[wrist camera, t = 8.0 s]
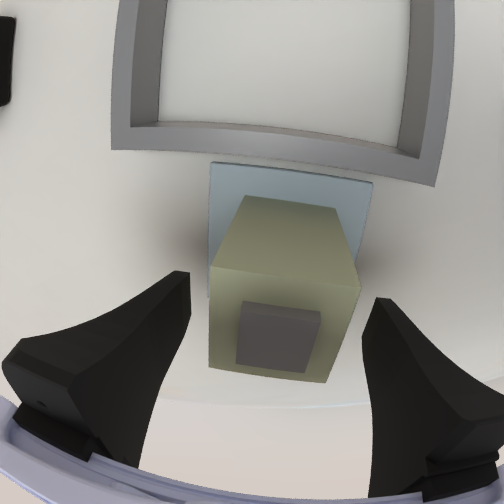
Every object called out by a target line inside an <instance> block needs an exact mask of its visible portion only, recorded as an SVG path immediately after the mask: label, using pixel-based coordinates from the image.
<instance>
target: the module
mask: <svg viewBox="0 0 504 504" xmlns="http://www.w3.org/2000/svg"><path fill="white" fill-rule="evenodd" d="M361 288H362V287H361V284H360V281H359V277H358V274H357V271H356V268H355V265H354V262H353V258H352V255H351V252H350V249H349V246H348V243H347V240H346V237H345V235H344V232H343V229H342V226H341V223H340V220H339V217H338V215H337V212H336V209H335V208H331V207H325V206H319V205H312V204H306V203H299V202H293V201H286V200H279V199H272V198H264V197H257V196H249V195H245V196H244V198H243V200H242V202H241V204H240V206H239V208H238V210H237V212H236V214H235V216H234V218H233V220H232V222H231V224H230V226H229V228H228V231H227V233H226V235H225V237H224V239H223V241H222V243H221V245H220V247H219V249H218V251H217V254H216V256H215V258H214V260H213V262H212V264H211V266H210V299H209V367H211V368H216V369H221V370H227V371H233V372H239V373H245V374H251V375H258V376H265V377H272V378H280V379H288V380H297V381H306V382H317V383H326V381H327V379H328V376H329V374H330V371H331V369H332V367H333V364H334V362H335V359H336V357H337V354H338V352H339V349H340V347H341V344H342V342H343V339H344V336H345V334H346V331H347V328H348V326H349V323H350V320H351V317H352V315H353V312H354V309H355V306H356V303H357V300H358V297H359V294H360V291H361Z"/></svg>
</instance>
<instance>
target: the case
mask: <svg viewBox="0 0 504 504" xmlns="http://www.w3.org/2000/svg"><path fill="white" fill-rule="evenodd" d="M166 6H167V0H120V2H119V9H118V16H117V24H116V33H115V43H114V54H113V68H112V88H111V150H158V151H183V152H201V153H216V154H229V155H241V156H251V157H261V158H270V159H279V160H287V161H295V162H302V163H310V164H317V165H323V166H330V167H336V168H342V169H348V170H354V171H360V172H365V173H371V174H376V175H381V176H386V177H391V178H396V179H401V180H405V181H410V182H414V183H419V184H423V185H427V186H431V187H435V182H436V178H437V173H438V169H439V164H440V159H441V154H442V149H443V144H444V138H445V132H446V126H447V119H448V112H449V104H450V96H451V87H452V76H453V62H454V39H455V8H454V0H411V14H410V40H409V56H408V68H407V79H406V88H405V97H404V105H403V112H402V120H401V126H400V133H399V139H398V145H397V148H396V147H391V146H387V145H382V144H377V143H373V142H368V141H363V140H357V139H352V138H347V137H341V136H335V135H329V134H322V133H316V132H309V131H302V130H294V129H286V128H277V127H267V126H257V125H245V124H232V123H215V122H188V121H158V103H159V83H160V67H161V54H162V43H163V32H164V23H165V14H166Z"/></svg>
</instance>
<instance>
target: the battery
mask: <svg viewBox="0 0 504 504" xmlns="http://www.w3.org/2000/svg"><path fill="white" fill-rule="evenodd" d="M13 30H14V18H13V17H7V16H0V107H1V106H4V105H6V104H7V103H8V101H9V79H10V60H11V48H12V38H13Z"/></svg>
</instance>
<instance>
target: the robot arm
mask: <svg viewBox="0 0 504 504" xmlns="http://www.w3.org/2000/svg"><path fill="white" fill-rule="evenodd" d="M190 317H191V294H190V273H188V272H182V271H173V272H172V273H170V274H169V275H167V276H166V277H164V278H163V279H161V280H160V281H158V282H157V283H155V284H154V285H153V286H151V287H150V288H148V289H147V290H145V291H144V292H142V293H141V294H139V295H137V296H136V297H134V298H132V299H131V300H129V301H127V302H126V303H124V304H123V305H121V306H119V307H117V308H115V309H113V310H112V311H110V312H108V313H105V314H103V315H101V316H99V317H97V318H95V319H92V320H90V321H87V322H84V323H82V324H79V325H77V326H74V327H71V328H68V329H64V330H61V331H57V332H53V333H49V334H45V335H40V336H34V337H29V338H22V339H21V340H20V341H19V342H18V343H17V344H16V346H15V347H14V348H13V349H12V350H11V352H10V353H9V354H8V355H7V357H6V358H5V359H4V360H3V362H2V370H3V373H4V376H5V377H6V379H7V381H8V382H9V384H10V385H11V387H12V388H13V390H14V391H15V393H16V394H17V396H18V397H19V399H20V400H21V401H22V403H21V405H20V406H19V408H17V407H16V406H15V405H14V404H13V403H12V402H11V401H9V400H7V399H6V398H4V397H3V396H1V395H0V472H1V473H2V474H4V475H5V476H6V477H8V478H9V479H11V480H12V481H13V482H15V483H16V484H18V485H19V486H20V487H22V488H23V489H25V490H26V491H28V492H30V493H31V494H32V495H34V496H36V497H37V498H39V499H40V500H42V501H43V502H45V503H47V504H504V464H502V465H501V466H499V467H496V463H495V461H497V460H498V459H499V453H498V449H499V448H501V447H502V446H503V445H504V395H503V394H501V393H499V392H497V391H495V390H493V389H491V388H490V387H488V386H486V385H484V384H483V383H481V382H480V381H478V380H477V379H475V378H473V377H472V376H471V375H469V374H468V373H467V372H465V371H464V370H462V369H461V368H460V367H458V366H457V365H456V364H455V363H453V362H452V361H451V360H450V359H449V358H448V357H446V356H445V355H444V354H443V353H442V352H441V351H440V350H439V349H438V348H437V347H436V346H435V345H434V344H433V343H432V342H431V341H430V340H429V339H428V338H427V337H426V336H425V335H424V334H423V333H422V332H421V331H420V330H419V329H418V328H417V327H416V326H415V325H414V323H413V322H412V321H411V320H410V319H409V318H408V317H407V316H406V315H405V313H404V312H403V311H402V310H401V309H400V308H399V307H398V306H397V305H396V304H395V303H394V302H393V301H392V300H391V299H387V298H378V297H376V299H375V302H374V305H373V308H372V311H371V313H370V316H369V319H368V321H367V324H366V327H365V329H364V332H363V334H362V353H363V362H364V368H365V373H366V378H367V384H368V389H369V395H370V401H371V408H372V424H373V445H372V465H371V477H370V485H369V492H368V498H363V499H343V500H341V499H340V500H313V499H290V498H276V497H265V496H257V495H248V494H241V493H235V492H228V491H223V490H216V489H212V488H207V487H202V486H198V485H193V484H189V483H184V482H181V481H177V480H172V479H169V478H165V477H162V476H158V475H155V474H152V473H148V472H145V471H142V470H139V469H138V467H139V461H140V458H141V453H142V448H143V444H144V440H145V436H146V433H147V429H148V425H149V421H150V418H151V415H152V411H153V408H154V405H155V402H156V399H157V396H158V393H159V390H160V387H161V384H162V382H163V380H164V377H165V375H166V373H167V371H168V369H169V367H170V365H171V363H172V361H173V358H174V356H175V354H176V352H177V350H178V348H179V346H180V344H181V342H182V340H183V338H184V335H185V332H186V330H187V327H188V323H189V320H190Z"/></svg>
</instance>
